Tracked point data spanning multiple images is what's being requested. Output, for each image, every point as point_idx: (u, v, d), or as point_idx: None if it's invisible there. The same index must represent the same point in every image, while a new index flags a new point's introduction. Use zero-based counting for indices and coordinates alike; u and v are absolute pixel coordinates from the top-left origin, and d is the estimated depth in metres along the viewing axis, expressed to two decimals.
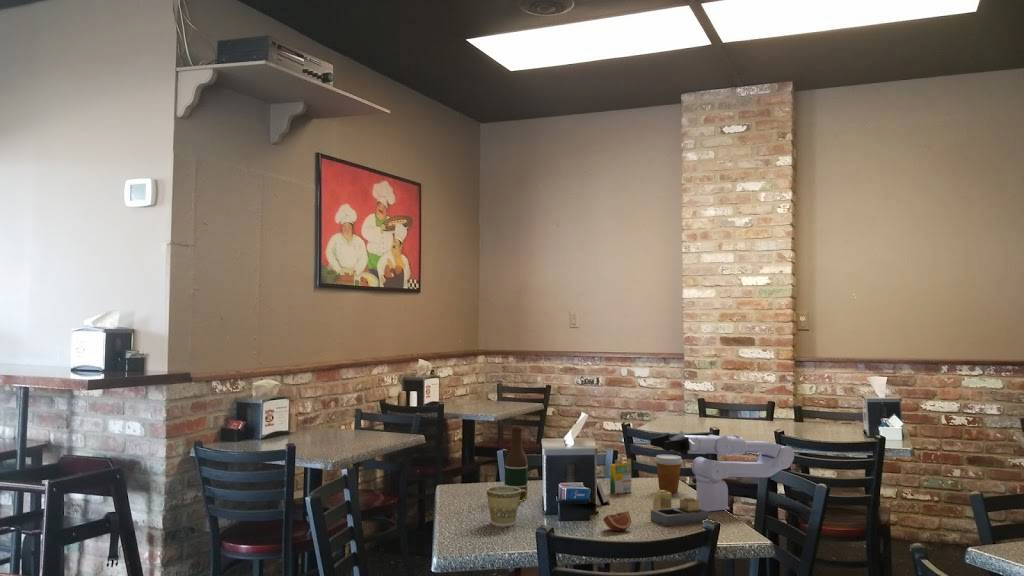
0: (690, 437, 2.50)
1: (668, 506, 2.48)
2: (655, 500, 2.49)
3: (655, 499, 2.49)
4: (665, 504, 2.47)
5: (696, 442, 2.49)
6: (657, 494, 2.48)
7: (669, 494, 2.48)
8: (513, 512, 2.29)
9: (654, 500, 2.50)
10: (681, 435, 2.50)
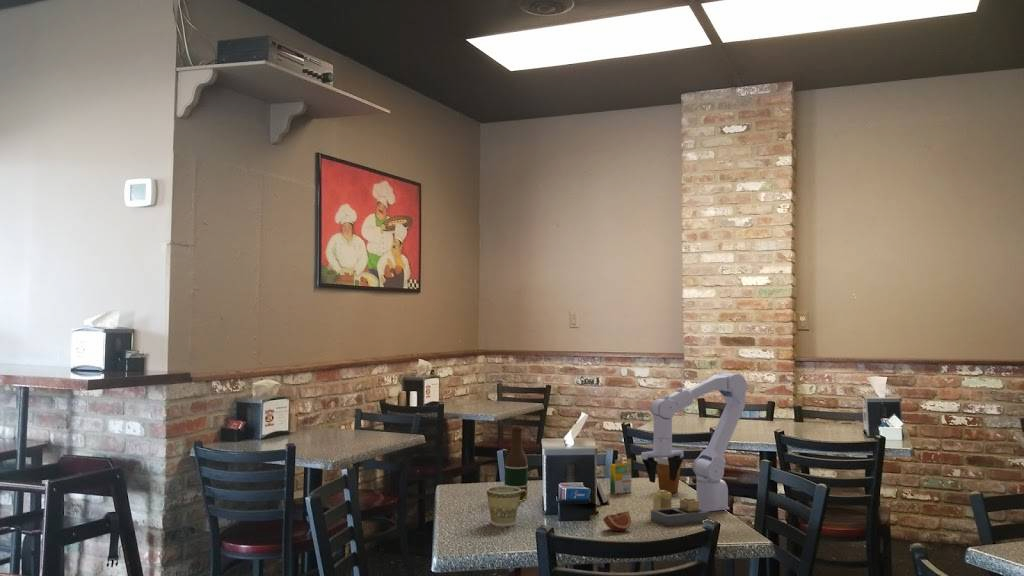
0: None
1: (668, 506, 2.48)
2: (655, 500, 2.49)
3: (655, 499, 2.49)
4: (665, 504, 2.47)
5: (653, 440, 2.50)
6: (657, 494, 2.48)
7: (669, 494, 2.48)
8: (513, 512, 2.29)
9: (654, 500, 2.50)
10: None
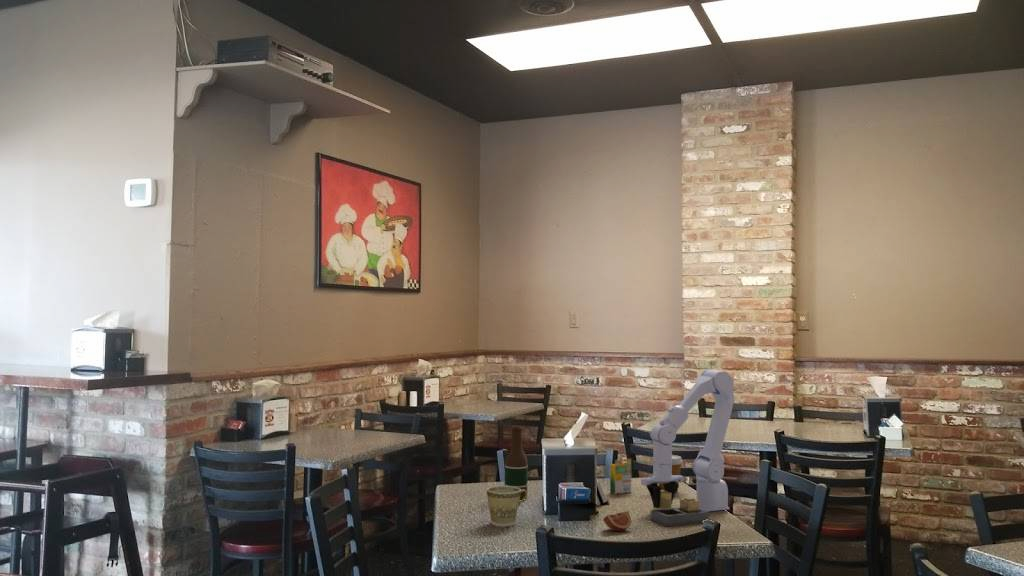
0: None
1: (668, 506, 2.48)
2: None
3: None
4: (665, 504, 2.47)
5: (653, 466, 2.49)
6: None
7: (669, 494, 2.48)
8: (513, 512, 2.29)
9: None
10: None
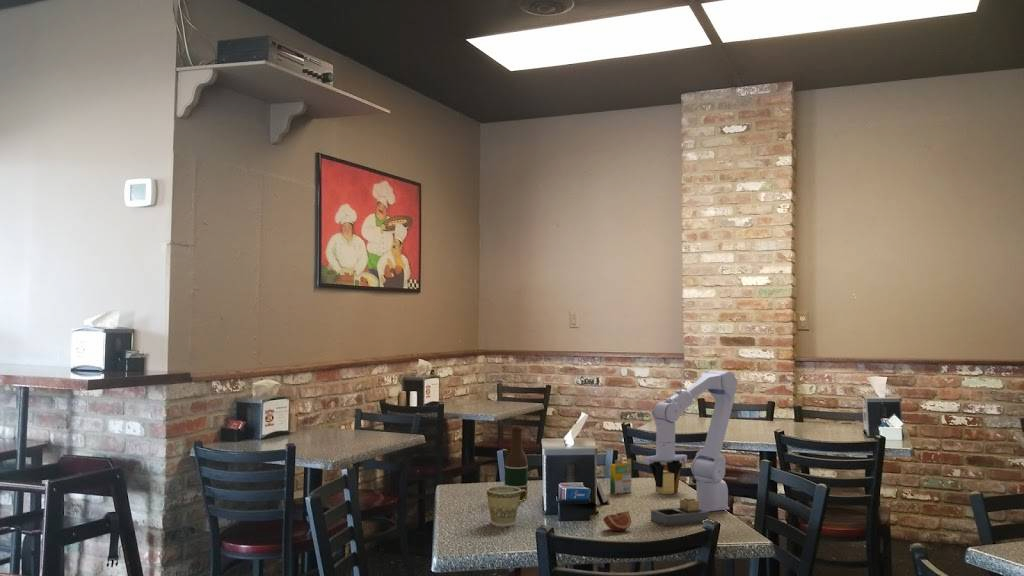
0: None
1: (671, 487, 2.42)
2: None
3: None
4: (668, 485, 2.42)
5: (656, 445, 2.44)
6: None
7: (672, 474, 2.43)
8: (513, 512, 2.29)
9: None
10: None
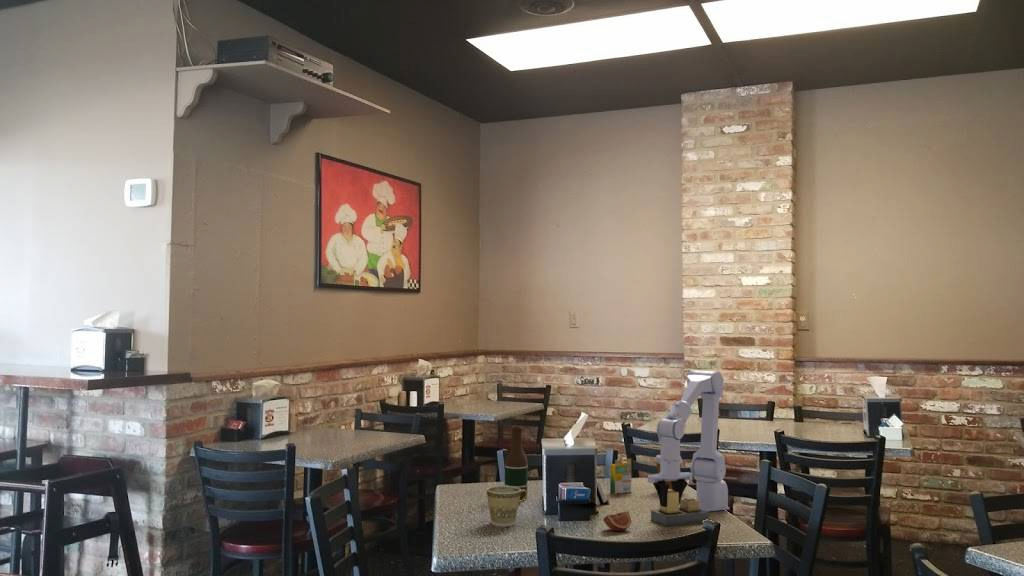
0: None
1: (675, 506, 2.35)
2: None
3: None
4: (673, 504, 2.35)
5: (660, 463, 2.36)
6: None
7: (676, 493, 2.35)
8: (513, 512, 2.29)
9: None
10: None
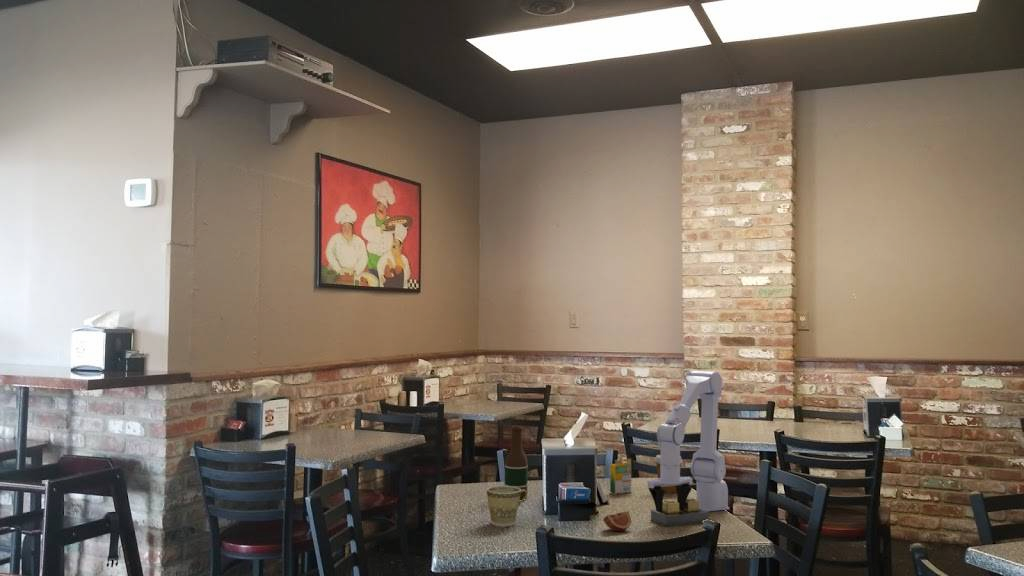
0: None
1: None
2: (662, 510, 2.36)
3: None
4: None
5: (660, 468, 2.36)
6: (664, 504, 2.35)
7: (677, 504, 2.35)
8: (513, 512, 2.29)
9: None
10: None
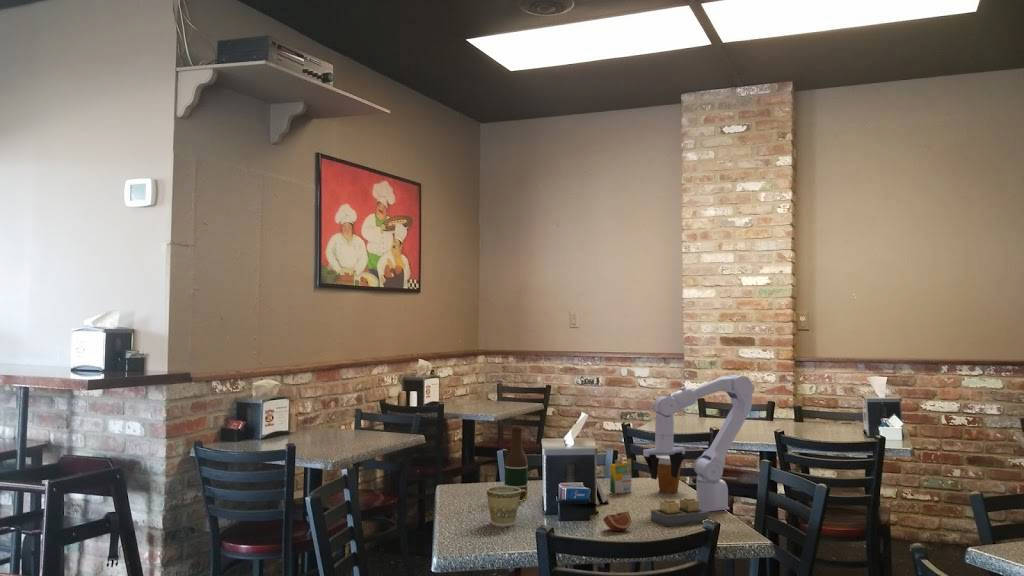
0: None
1: None
2: (662, 510, 2.36)
3: (661, 509, 2.36)
4: None
5: (655, 438, 2.52)
6: (664, 504, 2.35)
7: (677, 504, 2.35)
8: (513, 512, 2.29)
9: (661, 509, 2.37)
10: None
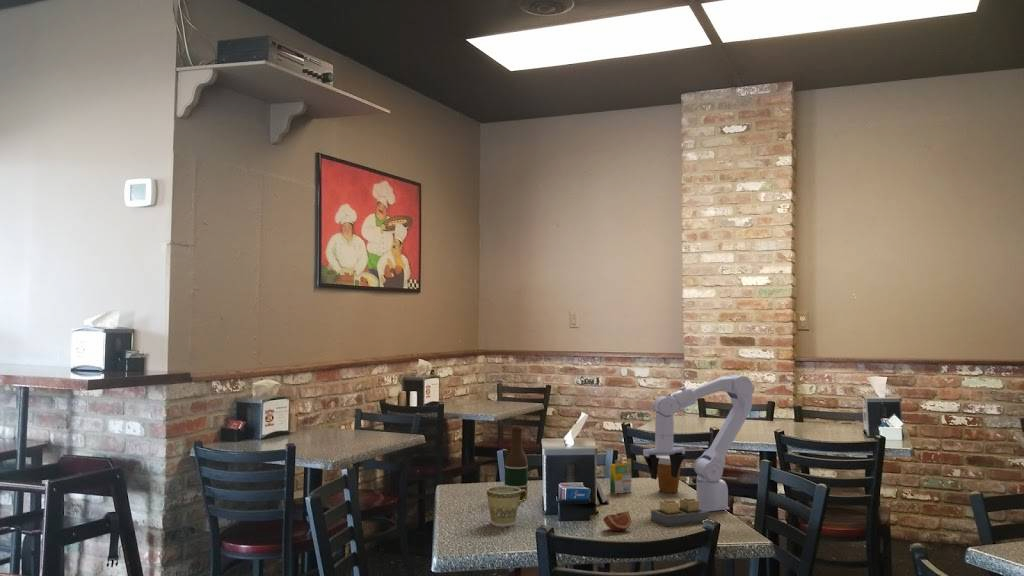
0: None
1: None
2: (662, 510, 2.36)
3: (661, 509, 2.36)
4: None
5: (655, 438, 2.52)
6: (664, 504, 2.35)
7: (677, 504, 2.35)
8: (513, 512, 2.29)
9: (661, 509, 2.37)
10: None
